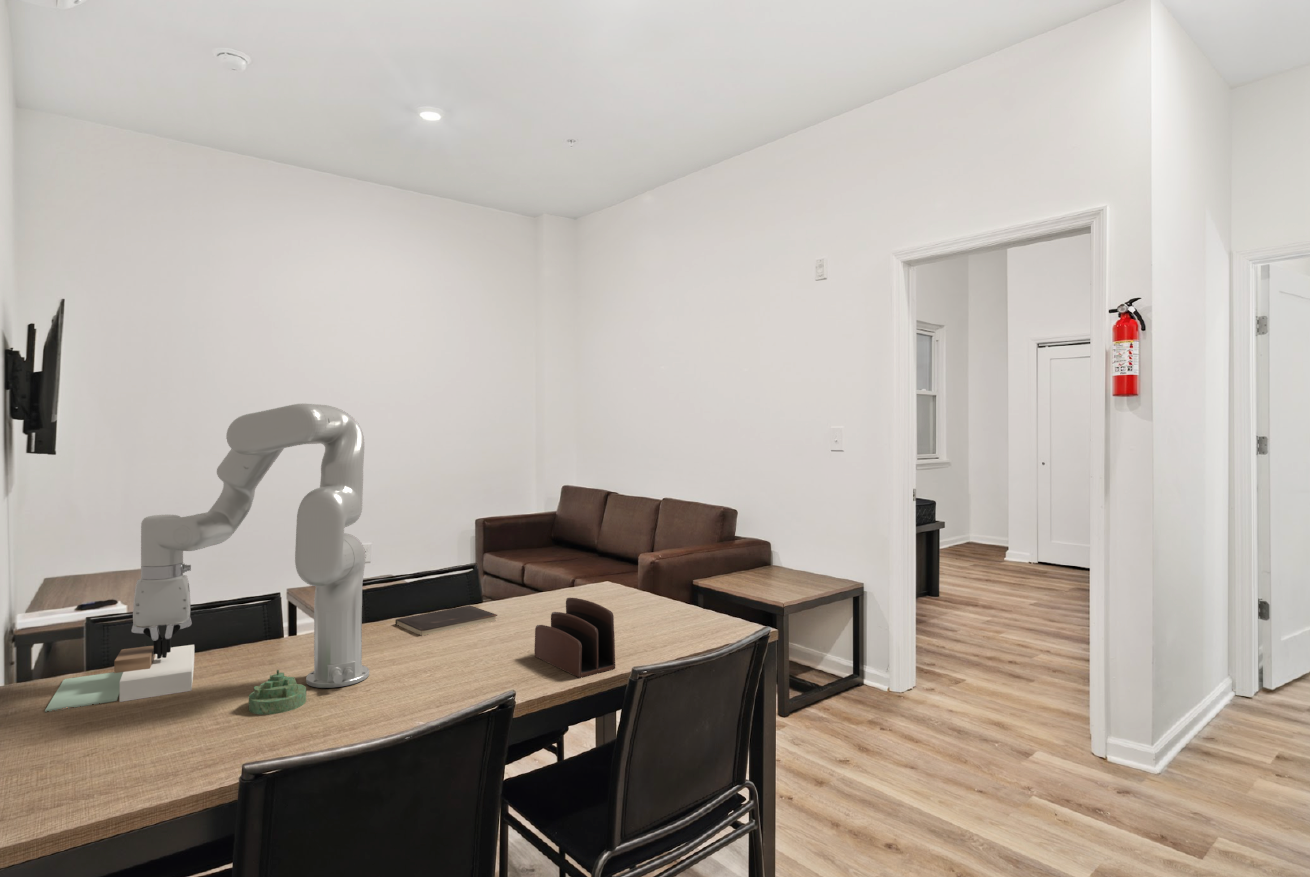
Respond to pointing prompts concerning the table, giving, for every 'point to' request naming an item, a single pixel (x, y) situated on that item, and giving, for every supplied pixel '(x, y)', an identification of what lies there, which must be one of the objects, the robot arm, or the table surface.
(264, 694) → the decorative artifact
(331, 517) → the robot arm
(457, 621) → the hardcover book
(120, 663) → the walnut tile
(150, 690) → the block
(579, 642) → the letter holder
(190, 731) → the table surface
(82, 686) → the mat
